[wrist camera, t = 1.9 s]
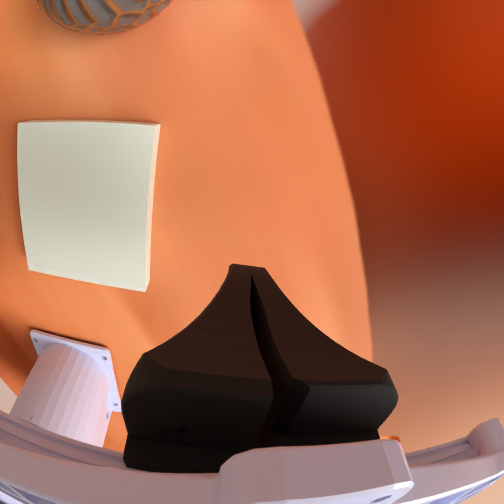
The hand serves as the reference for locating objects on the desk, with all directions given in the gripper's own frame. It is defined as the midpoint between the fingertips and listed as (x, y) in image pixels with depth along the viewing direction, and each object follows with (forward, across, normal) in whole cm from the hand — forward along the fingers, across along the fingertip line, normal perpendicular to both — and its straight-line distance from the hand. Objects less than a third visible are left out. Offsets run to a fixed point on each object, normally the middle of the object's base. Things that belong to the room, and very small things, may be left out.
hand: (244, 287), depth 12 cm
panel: (+7, +10, 0) cm, 12 cm away
